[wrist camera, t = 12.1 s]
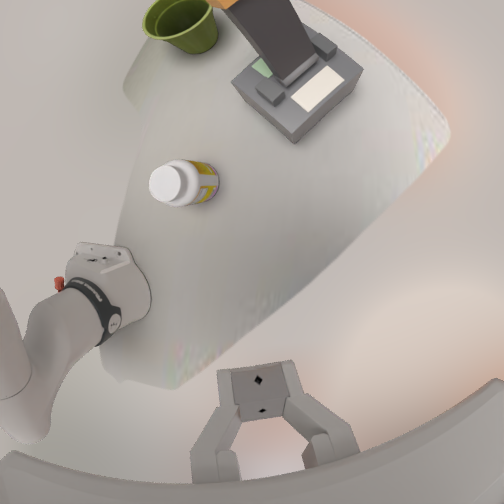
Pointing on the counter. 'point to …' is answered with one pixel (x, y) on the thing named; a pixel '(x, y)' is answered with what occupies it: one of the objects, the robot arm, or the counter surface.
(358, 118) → the counter surface
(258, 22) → the lever
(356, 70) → the box
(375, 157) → the counter surface
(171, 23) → the plant pot
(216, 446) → the robot arm
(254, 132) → the counter surface
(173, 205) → the supplement bottle
